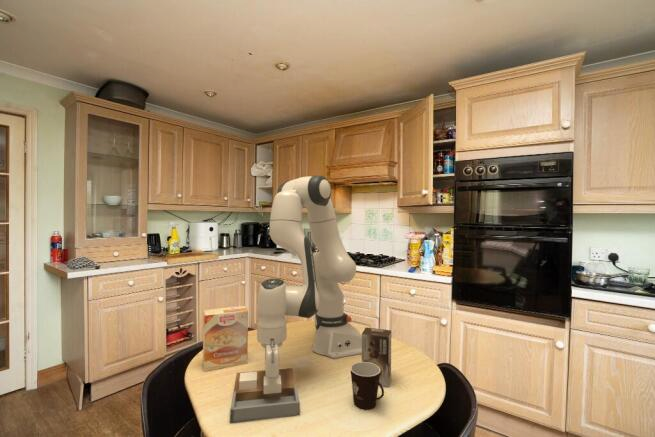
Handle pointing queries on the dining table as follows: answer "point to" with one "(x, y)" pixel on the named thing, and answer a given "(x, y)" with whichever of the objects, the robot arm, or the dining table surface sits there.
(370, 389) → the coffee mug
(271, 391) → the tile
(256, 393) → the board
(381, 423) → the dining table surface
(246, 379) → the tile
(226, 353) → the coffeecake box
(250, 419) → the tray
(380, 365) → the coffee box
